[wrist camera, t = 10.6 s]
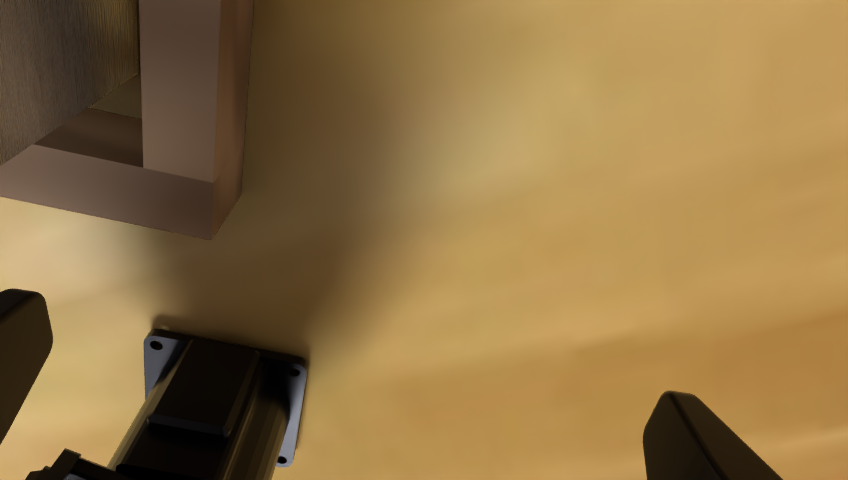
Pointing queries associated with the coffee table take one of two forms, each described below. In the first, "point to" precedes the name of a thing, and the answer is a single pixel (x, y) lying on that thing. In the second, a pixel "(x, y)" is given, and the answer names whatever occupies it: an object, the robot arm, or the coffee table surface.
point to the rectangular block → (59, 63)
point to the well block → (156, 130)
